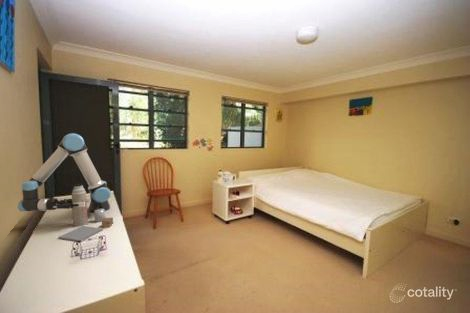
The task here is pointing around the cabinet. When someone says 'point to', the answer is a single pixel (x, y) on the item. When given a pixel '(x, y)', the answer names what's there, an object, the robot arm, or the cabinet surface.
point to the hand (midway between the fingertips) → (87, 202)
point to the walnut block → (107, 222)
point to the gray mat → (80, 233)
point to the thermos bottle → (79, 212)
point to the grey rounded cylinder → (99, 215)
